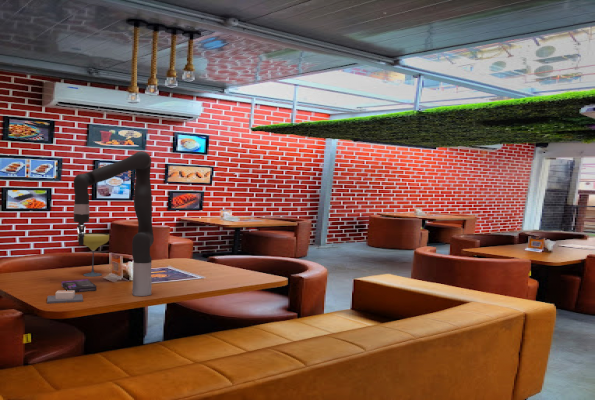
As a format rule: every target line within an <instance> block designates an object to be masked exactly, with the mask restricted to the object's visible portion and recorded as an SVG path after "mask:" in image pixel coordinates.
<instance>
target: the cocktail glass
mask: <svg viewBox="0 0 595 400" xmlns="http://www.w3.org/2000/svg"><path fill="white" fill-rule="evenodd" d="M109 240H110V234H109V233H106V232H105V233H104V232H85V234H84V245H83V246H86V247H88V248H89V249H90V251H92V259H91V261H92V262H91V263H92V264H91V272H88V273H83V277H88V278H89V277H91V278H92V277H94V278H95V277H100V276H102V275H103V273H102V272H101V273H100V272H95V269H94V267H95V266H94V261H95V260H94V255H95V252H94V251H96V250H97V249H98V248H99V247H101V246H103V245H105V244H107V243H108V242H109Z"/></svg>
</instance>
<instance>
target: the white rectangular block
mask: <svg viewBox="0 0 595 400" xmlns="http://www.w3.org/2000/svg"><path fill="white" fill-rule="evenodd" d="M55 295H56V299H73V298H74V297H75V295H76V293H75V291H66V290H57V291H56V292H55Z"/></svg>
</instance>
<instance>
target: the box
mask: <svg viewBox="0 0 595 400" xmlns="http://www.w3.org/2000/svg"><path fill="white" fill-rule="evenodd" d="M60 284H61V285H60V286H61V287H62V289H64V291H66V290H67V291H75V294H78V293H85V292H87V293H88V292H96V291H97V284H95V283H94V282H92V281H91V280H89V279H88V278H86V279H75V280H63V281H61V283H60Z"/></svg>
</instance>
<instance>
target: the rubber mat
mask: <svg viewBox="0 0 595 400" xmlns="http://www.w3.org/2000/svg"><path fill="white" fill-rule="evenodd" d="M66 302H67V303H80V302H81V303H82V302H84V296H83V294H82V293H79V294H78V293H75V297H74V298H73V299H56V294H55V295H47V301H46V304H60V303H61V304H65V303H66Z"/></svg>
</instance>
